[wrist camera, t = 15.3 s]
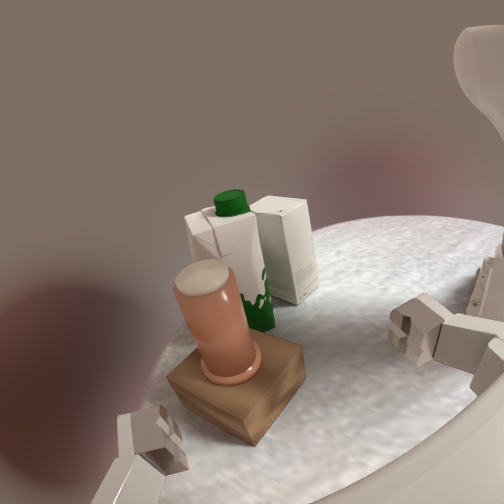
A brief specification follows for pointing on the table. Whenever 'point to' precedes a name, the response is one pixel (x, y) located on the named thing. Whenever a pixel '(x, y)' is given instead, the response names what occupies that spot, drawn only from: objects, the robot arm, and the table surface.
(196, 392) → the block
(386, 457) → the table surface
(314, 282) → the skincare box
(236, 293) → the canister
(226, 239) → the milk carton
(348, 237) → the table surface
